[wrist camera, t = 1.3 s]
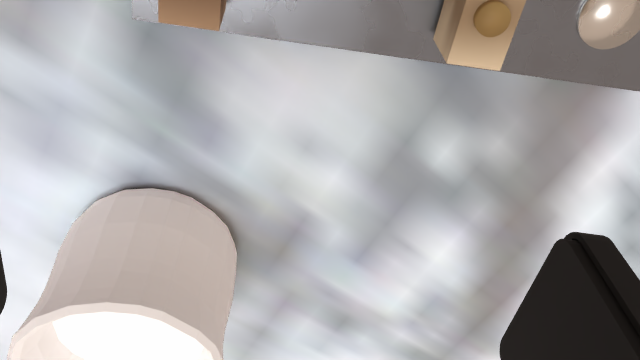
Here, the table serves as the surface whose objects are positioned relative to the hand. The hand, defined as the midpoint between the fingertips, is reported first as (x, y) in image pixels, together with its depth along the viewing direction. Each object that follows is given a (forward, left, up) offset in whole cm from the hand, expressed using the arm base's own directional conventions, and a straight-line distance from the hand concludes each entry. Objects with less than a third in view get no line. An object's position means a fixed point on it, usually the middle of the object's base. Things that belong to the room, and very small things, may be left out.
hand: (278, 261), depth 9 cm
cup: (+18, -6, -20) cm, 27 cm away
